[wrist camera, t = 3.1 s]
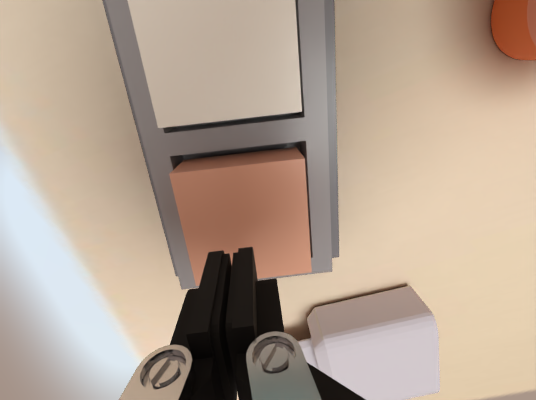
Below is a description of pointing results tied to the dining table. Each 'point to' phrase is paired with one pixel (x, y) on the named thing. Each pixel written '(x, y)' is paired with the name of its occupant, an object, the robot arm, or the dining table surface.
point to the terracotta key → (246, 209)
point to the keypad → (246, 132)
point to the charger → (377, 345)
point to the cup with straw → (515, 28)
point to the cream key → (218, 58)
